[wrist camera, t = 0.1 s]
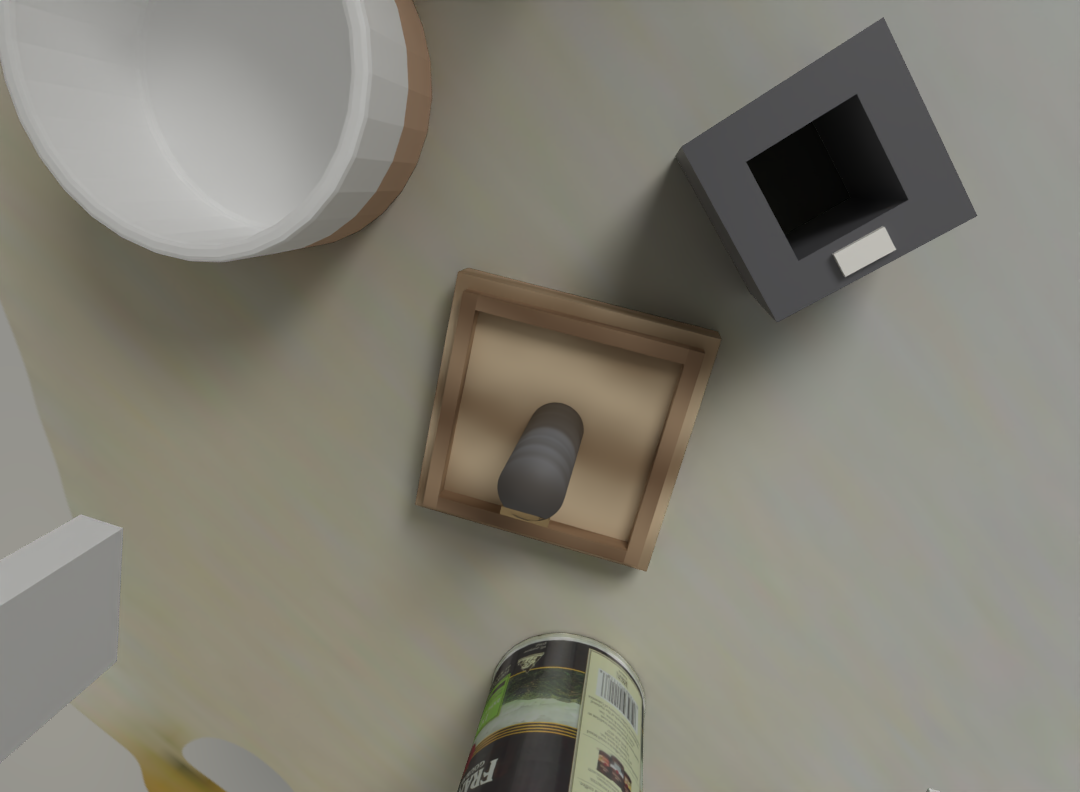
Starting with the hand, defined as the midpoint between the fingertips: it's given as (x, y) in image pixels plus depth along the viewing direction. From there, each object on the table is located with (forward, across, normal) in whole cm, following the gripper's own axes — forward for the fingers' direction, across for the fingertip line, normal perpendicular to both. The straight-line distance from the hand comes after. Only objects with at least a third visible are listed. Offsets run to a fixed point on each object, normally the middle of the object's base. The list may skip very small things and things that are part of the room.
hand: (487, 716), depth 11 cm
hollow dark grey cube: (+28, +6, +10) cm, 30 cm away
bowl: (+28, -21, +9) cm, 36 cm away
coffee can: (+28, +4, -24) cm, 37 cm away
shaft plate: (+28, -1, -5) cm, 28 cm away
